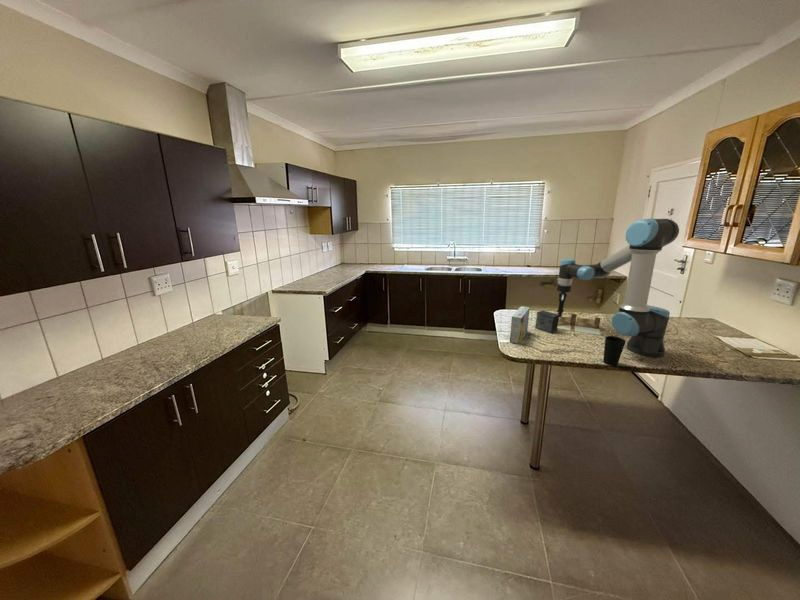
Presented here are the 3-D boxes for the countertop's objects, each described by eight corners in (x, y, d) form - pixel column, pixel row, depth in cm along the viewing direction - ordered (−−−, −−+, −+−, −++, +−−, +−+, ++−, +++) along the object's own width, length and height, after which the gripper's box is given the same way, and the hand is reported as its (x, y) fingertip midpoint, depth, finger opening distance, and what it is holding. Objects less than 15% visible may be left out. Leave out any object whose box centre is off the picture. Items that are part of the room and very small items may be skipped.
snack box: (517, 329, 183) (520, 305, 178) (527, 331, 180) (530, 307, 175) (508, 342, 166) (511, 315, 161) (519, 344, 163) (522, 317, 158)
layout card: (598, 326, 188) (598, 325, 188) (600, 335, 175) (600, 334, 175) (548, 319, 201) (548, 318, 201) (546, 326, 187) (546, 326, 187)
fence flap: (568, 323, 191) (569, 314, 190) (570, 325, 189) (572, 315, 187) (549, 324, 191) (551, 314, 189) (552, 325, 188) (553, 316, 186)
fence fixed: (598, 328, 185) (600, 317, 183) (598, 329, 183) (600, 318, 181) (569, 323, 192) (571, 313, 190) (569, 325, 190) (571, 314, 188)
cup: (602, 365, 141) (607, 341, 138) (598, 358, 148) (603, 335, 144) (622, 368, 138) (628, 343, 135) (617, 360, 145) (622, 337, 142)
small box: (557, 331, 180) (560, 314, 178) (551, 333, 177) (553, 316, 174) (540, 326, 189) (543, 309, 186) (534, 328, 185) (536, 311, 182)
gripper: (557, 281, 191) (552, 317, 198) (556, 286, 180) (551, 323, 187) (571, 282, 188) (565, 319, 195) (571, 287, 177) (565, 325, 184)
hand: (558, 321), depth 191 cm, fingers closed
